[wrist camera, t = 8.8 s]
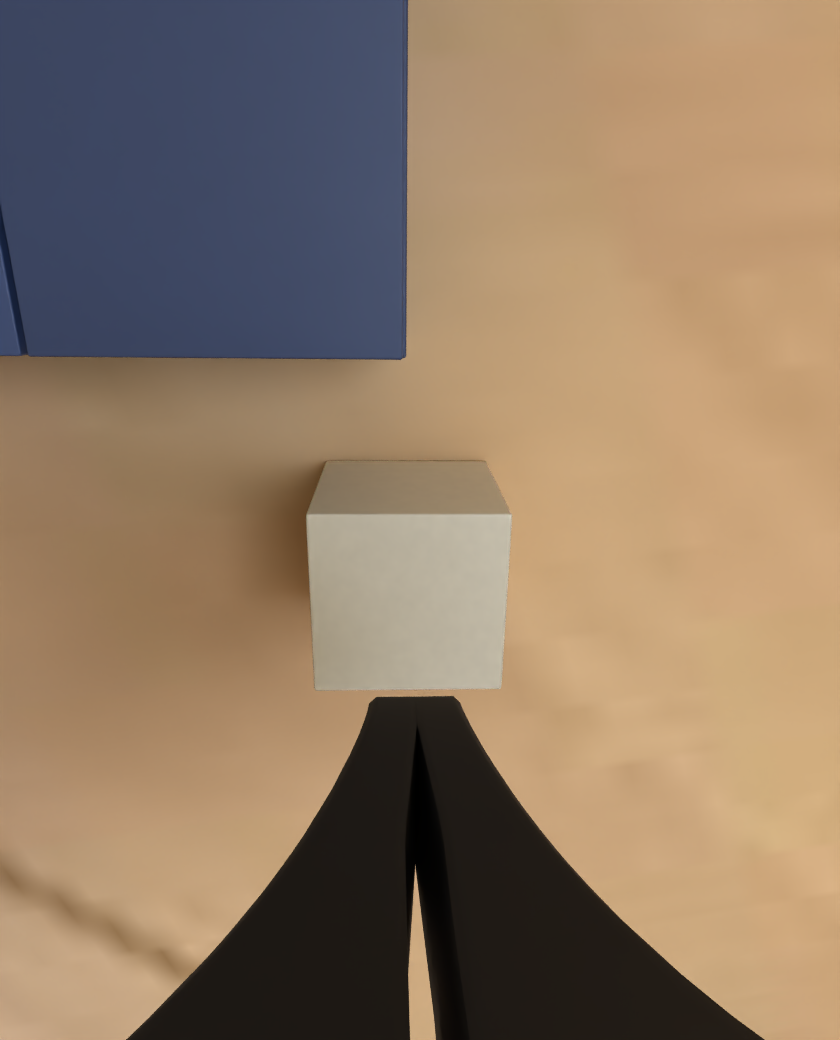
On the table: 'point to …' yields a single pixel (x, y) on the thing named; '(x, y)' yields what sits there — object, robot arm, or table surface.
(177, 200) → the carton
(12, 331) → the flap
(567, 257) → the table surface
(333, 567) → the block
